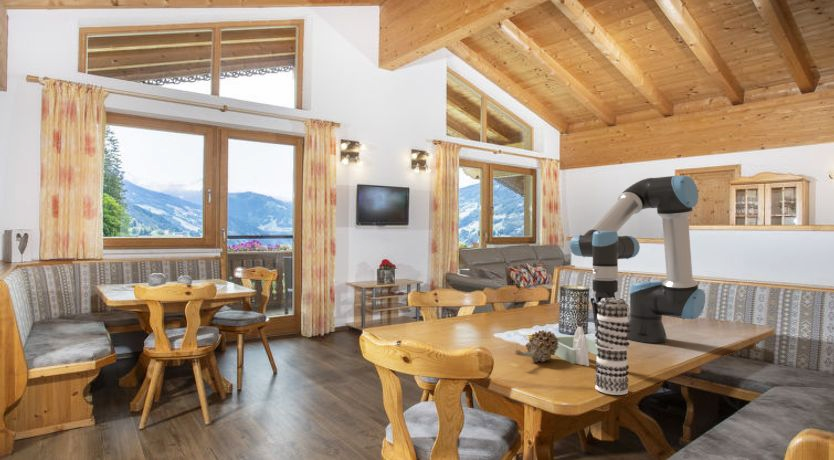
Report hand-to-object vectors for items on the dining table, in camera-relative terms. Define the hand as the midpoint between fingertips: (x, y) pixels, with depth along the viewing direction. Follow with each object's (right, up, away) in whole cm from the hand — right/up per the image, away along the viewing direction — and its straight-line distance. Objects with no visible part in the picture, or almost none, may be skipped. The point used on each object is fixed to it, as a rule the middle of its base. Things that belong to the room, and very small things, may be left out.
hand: (605, 352), depth 155 cm
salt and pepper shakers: (-5, -5, +7) cm, 10 cm away
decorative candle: (-7, -5, -22) cm, 23 cm away
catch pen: (-4, -5, +14) cm, 15 cm away
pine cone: (-21, -5, +4) cm, 22 cm away
